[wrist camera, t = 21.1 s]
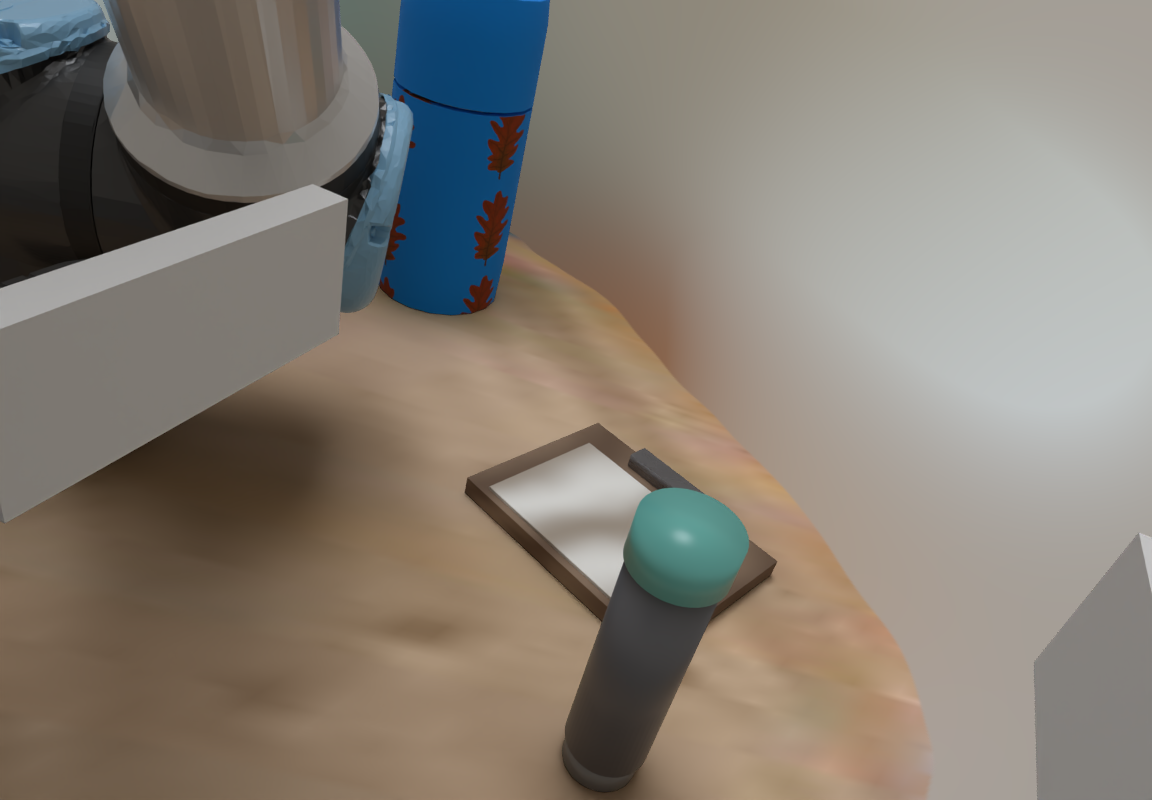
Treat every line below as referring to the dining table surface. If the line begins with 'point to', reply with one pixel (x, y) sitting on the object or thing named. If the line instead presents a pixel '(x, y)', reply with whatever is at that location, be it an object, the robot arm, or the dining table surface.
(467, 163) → the thermos
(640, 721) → the marker
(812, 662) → the dining table surface
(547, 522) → the brown picture frame
